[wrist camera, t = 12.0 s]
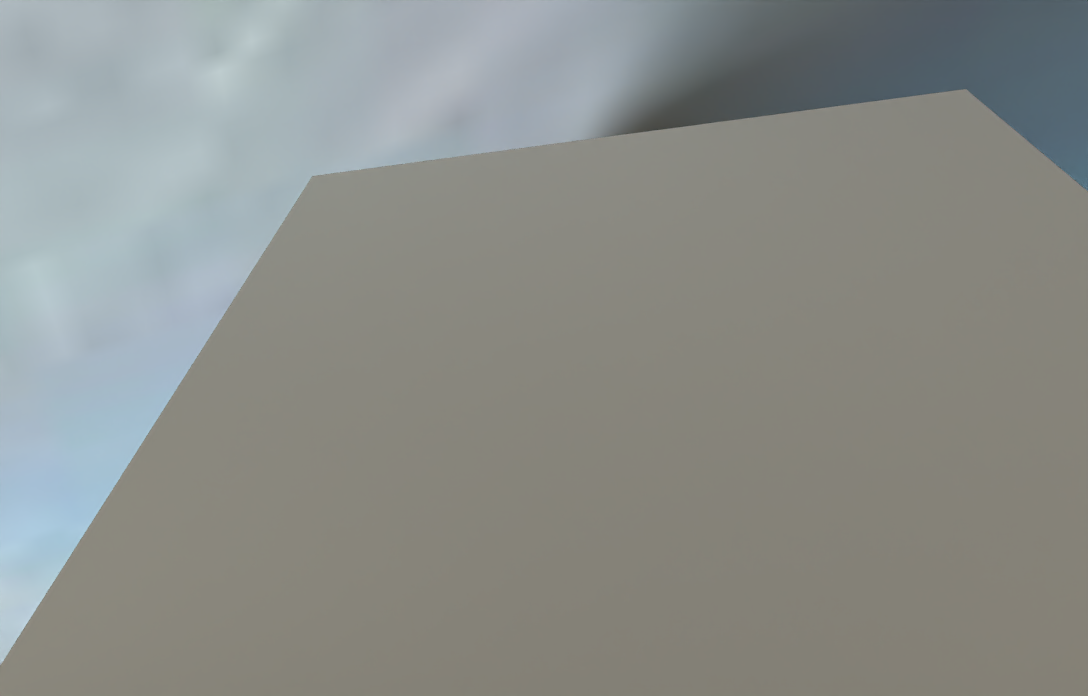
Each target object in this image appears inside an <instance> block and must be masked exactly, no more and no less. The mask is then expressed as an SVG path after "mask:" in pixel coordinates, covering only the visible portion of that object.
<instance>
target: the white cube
mask: <svg viewBox="0 0 1088 696" xmlns="http://www.w3.org/2000/svg"><path fill="white" fill-rule="evenodd" d="M0 696H1088V191H1087V190H1086V189H1084V188H1083V187H1082V186H1081V185H1080V184H1078V183H1077V182H1076V181H1075V180H1074V179H1072V178H1071V177H1070V176H1069V175H1068V174H1066V173H1065V172H1064V171H1063V170H1062V169H1061V168H1059V167H1058V166H1057V165H1056V164H1055V163H1053V162H1052V161H1051V160H1050V159H1049V158H1047V157H1046V156H1045V155H1044V154H1043V153H1041V152H1040V151H1039V150H1038V149H1037V148H1036V147H1034V146H1033V145H1032V144H1031V143H1030V142H1028V141H1027V140H1026V139H1025V138H1024V137H1022V136H1021V135H1020V134H1019V133H1018V132H1016V131H1015V130H1014V129H1013V128H1012V127H1010V126H1009V125H1008V124H1007V123H1006V122H1005V121H1003V120H1002V119H1001V118H1000V117H999V116H997V115H996V114H995V113H994V112H993V111H991V110H990V109H989V108H988V107H987V106H985V105H984V104H983V103H982V102H981V101H979V100H978V99H977V98H976V97H975V96H974V95H972V94H971V93H970V92H969V91H968V90H966V89H962V90H955V91H947V92H940V93H932V94H924V95H917V96H909V97H902V98H894V99H887V100H879V101H872V102H864V103H857V104H849V105H842V106H834V107H827V108H819V109H812V110H804V111H797V112H789V113H782V114H774V115H767V116H759V117H752V118H744V119H737V120H729V121H722V122H714V123H707V124H699V125H692V126H684V127H677V128H669V129H662V130H654V131H647V132H639V133H632V134H624V135H617V136H609V137H602V138H594V139H587V140H579V141H572V142H564V143H557V144H549V145H542V146H534V147H527V148H519V149H512V150H504V151H497V152H489V153H482V154H474V155H467V156H459V157H452V158H444V159H437V160H429V161H422V162H414V163H407V164H399V165H392V166H384V167H377V168H369V169H362V170H354V171H347V172H339V173H332V174H324V175H317V176H312V178H311V179H310V181H309V182H308V184H307V185H306V187H305V189H304V190H303V192H302V193H301V195H300V196H299V198H298V200H297V201H296V203H295V204H294V206H293V207H292V209H291V211H290V212H289V214H288V215H287V217H286V218H285V220H284V222H283V223H282V225H281V226H280V228H279V229H278V231H277V233H276V234H275V236H274V237H273V239H272V240H271V242H270V243H269V245H268V247H267V248H266V250H265V251H264V253H263V254H262V256H261V258H260V259H259V261H258V262H257V264H256V265H255V267H254V269H253V270H252V272H251V273H250V275H249V276H248V278H247V280H246V281H245V283H244V284H243V286H242V287H241V289H240V291H239V292H238V294H237V295H236V297H235V298H234V300H233V302H232V303H231V305H230V306H229V308H228V309H227V311H226V313H225V314H224V316H223V317H222V319H221V320H220V322H219V324H218V325H217V327H216V328H215V330H214V331H213V333H212V334H211V336H210V338H209V339H208V341H207V342H206V344H205V345H204V347H203V349H202V350H201V352H200V353H199V355H198V356H197V358H196V360H195V361H194V363H193V364H192V366H191V367H190V369H189V371H188V372H187V374H186V375H185V377H184V378H183V380H182V382H181V383H180V385H179V386H178V388H177V389H176V391H175V393H174V394H173V396H172V397H171V399H170V400H169V402H168V404H167V405H166V407H165V408H164V410H163V411H162V413H161V415H160V416H159V418H158V419H157V421H156V422H155V424H154V425H153V427H152V429H151V430H150V432H149V433H148V435H147V436H146V438H145V440H144V441H143V443H142V444H141V446H140V447H139V449H138V451H137V452H136V454H135V455H134V457H133V458H132V460H131V462H130V463H129V465H128V466H127V468H126V469H125V471H124V473H123V474H122V476H121V477H120V479H119V480H118V482H117V484H116V485H115V487H114V488H113V490H112V491H111V493H110V495H109V496H108V498H107V499H106V501H105V502H104V504H103V506H102V507H101V509H100V510H99V512H98V513H97V515H96V516H95V518H94V520H93V521H92V523H91V524H90V526H89V527H88V529H87V531H86V532H85V534H84V535H83V537H82V538H81V540H80V542H79V543H78V545H77V546H76V548H75V549H74V551H73V553H72V554H71V556H70V557H69V559H68V560H67V562H66V564H65V565H64V567H63V568H62V570H61V571H60V573H59V575H58V576H57V578H56V579H55V581H54V582H53V584H52V586H51V587H50V589H49V590H48V592H47V593H46V595H45V597H44V598H43V600H42V601H41V603H40V604H39V606H38V607H37V609H36V611H35V612H34V614H33V615H32V617H31V618H30V620H29V622H28V623H27V625H26V626H25V628H24V629H23V631H22V633H21V634H20V636H19V637H18V639H17V640H16V642H15V644H14V645H13V647H12V648H11V650H10V651H9V653H8V655H7V656H6V658H5V659H4V661H3V662H2V664H1V666H0Z"/></svg>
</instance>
